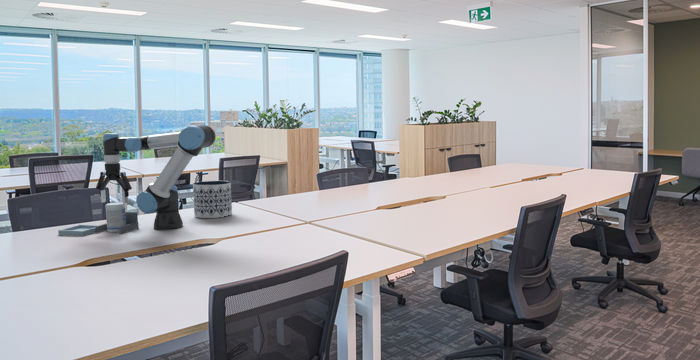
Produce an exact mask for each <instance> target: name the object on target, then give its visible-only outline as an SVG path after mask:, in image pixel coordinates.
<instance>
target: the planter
mask: <svg viewBox="0 0 700 360" xmlns="http://www.w3.org/2000/svg"><path fill="white" fill-rule="evenodd" d="M192 191H193V193H192V195H193V212H194V217H196V218H197V217H198V219H205V218H211V219H220V218H219V217H222V218H225V217H224V216H227V217H229V216H228V215H230V216H232V214H233V206H232V203H233V202H232V200H233V199H232V183H231V181H229V180H205V181H196V182H193V183H192Z"/></svg>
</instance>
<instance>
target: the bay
mask: <svg viewBox="0 0 700 360" xmlns="http://www.w3.org/2000/svg"><path fill="white" fill-rule="evenodd" d="M125 213H126V225H125V226H121V227H119V232H118V234H120V235H123V234H125V233H128V232H132V231H134V230H138V229H139V220H138V219H139V217H138V211H125ZM97 225H98V226H96V232H95V233H97V234H98V233H102V232H106V231H107V222H106V223H102V224H97Z"/></svg>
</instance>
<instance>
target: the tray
mask: <svg viewBox="0 0 700 360" xmlns="http://www.w3.org/2000/svg"><path fill="white" fill-rule="evenodd" d="M98 225H99V224H97V225H96V224H95V225H94V224H77V225H72V226H70V227H69V226H68V227H65V228H61V229H59V230H57V231H58V235H59V236H69V235H72V236H74V237H85V236H88V234H89V235H92V234H95V233H96V226H98Z"/></svg>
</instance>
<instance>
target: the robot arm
mask: <svg viewBox="0 0 700 360" xmlns="http://www.w3.org/2000/svg"><path fill="white" fill-rule="evenodd" d="M102 136H103V137H102V138H103V139H102V145H103V156H104V157H103V159H104V170H105V171H100V173H99V178H98V180H97V184H96V187H95V189H96V190H99V196H100V203H102V204H103V203H106V202H107V197H106V193H107V192H106V189H105V188H106V186H107V185H108V184H109V182H110V181H114V182H115V181H116V182H117V183H118V184H119V185H120V187H121V189H123V190H122V201H123V202H122V203H124V204H128V203H129V199H128V197H129V191H130V190H132V189H133V187H132V185H131V184H130V181H129V180H128V177H127V175H126V174H127V173H126V171H122V172H121V163H120V161H121V159H120V157H121V154H120V153H121V152H122V153H123V152H125V153H135V152H136V153H137V152H139V151H149V150H158V149H159V150H160V149H168V148H176V147H177V148H176V149H175V151H174V153H173V154H172V156H171V157H170V159H169V160H168V162H167V163H166V165H165V166H164V168H162V171H161V172H160V174H159V175H158V177H156V179H155V180H154V182H151V183H149V184H148V185H147V187H146V189H145V190H143V191H141V192H140V193H139V194H137V196H136V205H137V208H138V210H139V211H140V212H142V213H144V214H148V215H150V214H154V213H155V214H156V215H155V218H154V223H153V229H154V230H161V231H162V230H163V231H164V230H173V229H180V228H183V226H184V225H183V223H184V222H183V220H182V218H181V214H180V211H179V206H180V205H179V191H178V186H176V185H175V184H176V182H177V181H178V180H179V178H180V176H181V175H182V173H183V172H184V171H185V169H186V167H187V166H188V164H190V162H191V160H192V159H193V158H194V157H197V156H199V154H200V153H201V152H202V150H203V149H204V148H205V149H206V148H209V147H211V146H213V144H214V143H215V141H216V138H217V137H216V132H215V130H214V129H213V128H212V127H210V126H209V125H206V124H205V125H204V124H201V125H197V124H196V125H194V124H192V125H191V124H190V125H187V126H185V127H183V128H182V129H181V130H180V131H179V132H169V133H162V134H161V133H160V134H159V133H158V134H152V135H142V136H141V135H140V136H127V137H126V136H123V137H121V136H119V133H118V132H117V133H114V132H113V133H104V134H103V135H102Z"/></svg>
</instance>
